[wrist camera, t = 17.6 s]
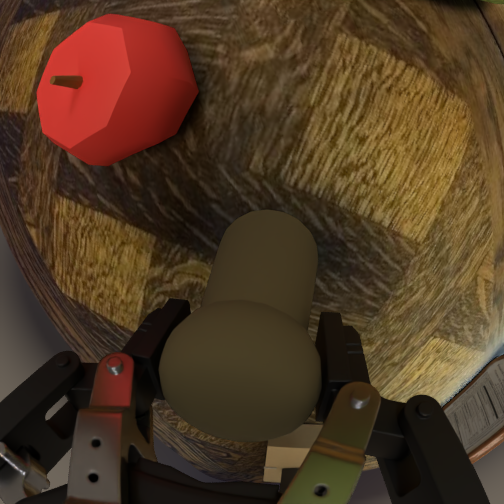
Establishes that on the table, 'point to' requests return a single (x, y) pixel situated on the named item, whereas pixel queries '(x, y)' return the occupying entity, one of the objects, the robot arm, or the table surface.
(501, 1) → the teapot
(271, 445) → the panel
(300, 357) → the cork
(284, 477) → the red tipped black brick
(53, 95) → the apple
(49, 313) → the table surface
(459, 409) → the tin
